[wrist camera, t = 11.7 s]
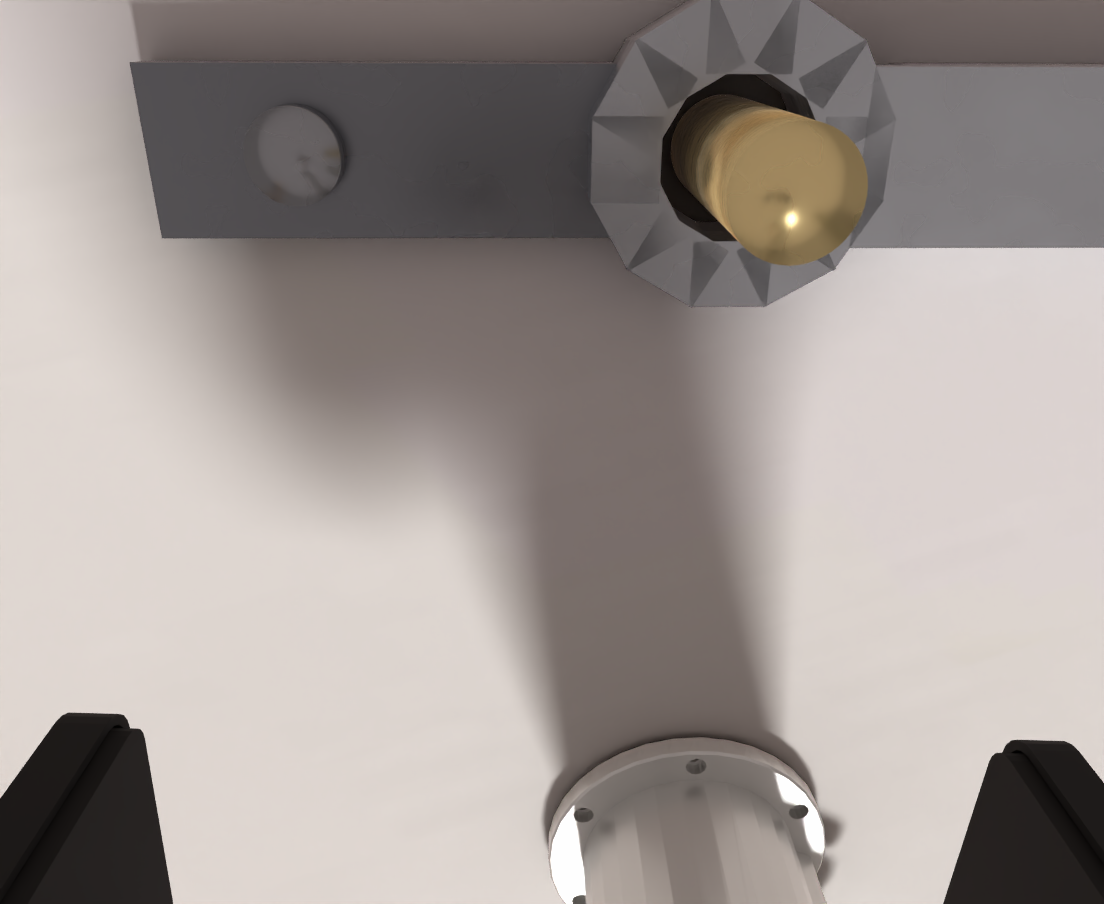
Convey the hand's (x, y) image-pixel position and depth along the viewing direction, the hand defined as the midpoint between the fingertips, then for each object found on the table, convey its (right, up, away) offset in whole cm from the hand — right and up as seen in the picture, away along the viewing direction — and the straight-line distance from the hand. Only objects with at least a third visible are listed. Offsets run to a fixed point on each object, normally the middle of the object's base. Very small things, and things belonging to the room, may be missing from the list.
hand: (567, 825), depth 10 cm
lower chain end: (-1, +14, +18) cm, 23 cm away
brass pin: (+5, +14, +18) cm, 23 cm away
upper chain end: (+12, +14, +18) cm, 26 cm away
